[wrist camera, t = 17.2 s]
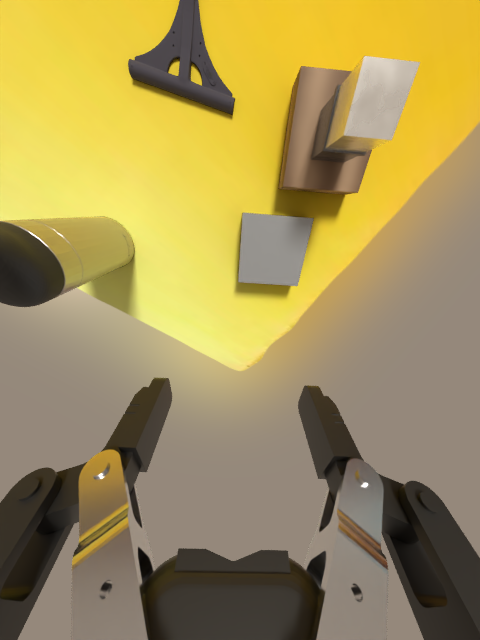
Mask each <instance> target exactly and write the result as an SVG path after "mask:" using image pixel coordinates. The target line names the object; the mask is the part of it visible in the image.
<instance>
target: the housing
mask: <svg viewBox="0 0 480 640" xmlns="http://www.w3.org/2000/svg"><path fill="white" fill-rule="evenodd" d="M419 64H420V62H412V61H403V60H395V59H386V58H377V57H369V56H364V57H363V58H362V59H361V61H360V62H359V63H358V65H357V66H356V67H355V68H354V70H353V71H352V72H351V73H350V75H349V76H348V77H347V78H346V80H345V81H344V82H343V83H342V85H337V86H336V88H335V92H334V95H333V96H332V97H331V98H330V100H329V101H328V102H327V103H326V105H325V106H324V107H323V108H322V110H321V112H320V117H319V122H318V126H317V131H316V136H315V141H314V146H313V151H312V156H311V160H322V161H333V162H343V163H344V162H346V161H348V160H350V159H353V158H355V157H357V156H365V155H366V152H367V151H370V150H372V149H374V148H376V147H378V146H380V145H382V144H385V143H387V142H389V141H391V140H392V138H393V135H394V132H395V130H396V127H397V124H398V121H399V119H400V116H401V113H402V110H403V108H404V105H405V102H406V99H407V97H408V94H409V91H410V88H411V86H412V83H413V80H414V77H415V75H416V72H417V69H418V67H419Z"/></svg>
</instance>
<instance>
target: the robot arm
mask: <svg viewBox="0 0 480 640" xmlns="http://www.w3.org/2000/svg"><path fill="white" fill-rule="evenodd" d="M133 255H134V244H133V241H132V239H131V237H130V235H129V233H128V232H127V230H126V229H125V228H124V227H123V226H122V225H121V224H119V223H118V222H117V221H115V220H113V219H111V218H107V217H77V218H54V219H31V220H11V221H0V302H1V303H4V304H7V305H11V306H18V307H30V306H36V305H39V304H42V303H45V302H47V301H49V300H51V299H53V298H55V297H58V296H59V295H62V294H64V293H66V292H68V291H70V290H73V289H75V288H77V287H79V286H81V285H83V284H85V283H87V282H90V281H92V280H94V279H96V278H98V277H100V276H102V275H105V274H107V273H109V272H111V271H113V270H115V269H117V268H120V267H122V266H124V265H126V264H128V263H129V262H130V261H131V259H132V258H133ZM171 401H172V392H171V387H170V382H169V379H168V378H154V379H153V380H152V382H151V384H150V386H149V387H143V388H142V389H141V390H140V391H139V392H138V393H137V394H135V396H134V398H133V400H132V401H131V403H130V406H129V407H128V408H127V410H126V412H125V414H124V415H123V417H122V419H121V420H120V422H119V424H118V426H117V427H116V429H115V431H114V432H113V434H112V436H111V438H110V440H109V441H108V443H107V445H106V446H105V448H104V449H103V450H102V451H101V452H100V453H98V454H96V455H95V456H94V457H92V458H91V459H90V460H89V461H88V462H86V463H84V464H82V465H79V466H76V467H72V468H69V469H66V470H63V471H59V472H55V471H54V470H53V469H51V468H42V469H38V470H35V471H34V472H31V473H30V474H28V475H26V476H25V477H24V478H22V479H21V480H20V481H19V482H18V483H17V484H16V485H15V486H14V487H13V488H12V489H11V490H10V491H9V493H8V494H7V495H6V496H5V498H4V499H3V500H2V501H1V503H0V640H17V639H18V637H19V635H20V633H21V631H22V629H23V627H24V625H25V623H26V621H27V619H28V617H29V615H30V612H31V610H32V609H33V607H34V604H35V602H36V600H37V598H38V596H39V594H40V592H41V590H42V588H43V586H44V584H45V582H46V580H47V578H48V576H49V574H50V572H51V570H52V568H53V566H54V564H55V562H56V560H57V558H58V555H59V553H60V551H61V549H62V547H63V545H64V543H65V541H66V539H67V537H68V535H69V533H70V531H71V529H72V527H73V525H74V523H77V522H79V545H78V547H77V549H76V550H75V552H74V555H73V561H72V617H71V640H386V639H387V603H388V565H387V560H386V557H385V556H384V554H383V553H382V550H381V533H382V535H383V538H384V540H385V543H386V545H387V548H388V550H389V553H390V555H391V558H392V560H393V563H394V565H395V568H396V570H397V573H398V575H399V578H400V580H401V583H402V585H403V588H404V590H405V593H406V595H407V598H408V600H409V603H410V605H411V608H412V610H413V613H414V615H415V618H416V620H417V623H418V625H419V628H420V631H421V633H422V635H423V638H424V640H480V558H479V557H478V555H477V553H476V552H475V551H474V549H473V547H472V546H471V544H470V543H469V541H468V540H467V538H466V537H465V535H464V533H463V532H462V531H461V529H460V527H459V526H458V524H457V523H456V521H455V520H454V518H453V517H452V515H451V514H450V512H449V511H448V509H447V507H446V506H445V504H444V503H443V502H442V500H441V499H440V498H439V497H438V496H437V495H436V494H435V493H434V492H433V491H432V490H430V488H428V487H427V486H425V485H424V484H422V483H419V482H417V481H409V482H407V483H406V484H405V485H404V484H401V483H399V482H396V481H394V480H391V479H389V478H386V477H384V476H381V475H380V474H378V473H377V472H376V471H375V470H374V469H373V468H372V467H371V466H370V465H369V464H368V463H366V462H365V461H364V460H363V459H362V457H361V455H360V453H359V451H358V450H357V447H356V445H355V443H354V441H353V439H352V437H351V435H350V433H349V431H348V429H347V427H346V425H345V424H344V421H343V419H342V417H341V416H340V413H339V410H338V408H337V407H336V405H335V403H334V402H333V401H332V400H331V399H330V398H329V397H328V396H323V394H322V391H321V390H320V388H319V387H318V386H304V388H303V391H302V394H301V396H300V399H299V404H298V409H299V414H300V417H301V420H302V424H303V427H304V431H305V434H306V438H307V441H308V444H309V448H310V451H311V455H312V458H313V461H314V465H315V469H316V472H317V476H318V479H326V480H327V483H328V488H327V492H326V495H325V499H324V503H323V506H322V510H321V514H320V518H319V522H318V526H317V529H316V532H315V535H314V537H313V539H312V542H311V544H310V547H309V549H308V553H307V556H306V560H305V564H304V567H302V566H301V565H299V564H298V563H296V562H295V561H293V560H292V559H290V558H288V551H278V550H261V551H258V552H256V553H253V554H251V555H249V556H246V557H244V558H241V559H239V560H237V561H230V560H228V559H226V558H224V557H222V556H220V555H217V554H215V553H213V552H211V551H209V550H206V549H178V555H176V556H174V557H172V558H170V559H169V560H167V561H165V562H164V563H163V564H162V565H160V566H159V567H158V568H157V569H156V570H155V566H154V561H153V556H152V552H151V547H150V543H149V540H148V537H147V534H146V531H145V527H144V523H143V518H142V513H141V509H140V505H139V499H138V495H137V490H136V485H135V481H136V479H137V476H138V474H139V472H147V469H148V467H149V464H150V461H151V458H152V455H153V453H154V450H155V447H156V445H157V442H158V439H159V436H160V433H161V431H162V428H163V425H164V422H165V420H166V417H167V414H168V411H169V408H170V406H171Z"/></svg>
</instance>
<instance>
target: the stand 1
mask: <svg viewBox="0 0 480 640" xmlns="http://www.w3.org/2000/svg"><path fill="white" fill-rule="evenodd" d="M313 219H314V218H305V217H292V216H279V215H266V214H254V213H243V215H242V230H241V246H240V261H239V277H238V282H244V283H259V284H275V285H290V286H298V282H299V278H300V273H301V269H302V265H303V261H304V257H305V253H306V248H307V244H308V240H309V236H310V232H311V228H312V223H313Z"/></svg>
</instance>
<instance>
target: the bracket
mask: <svg viewBox="0 0 480 640" xmlns="http://www.w3.org/2000/svg"><path fill="white" fill-rule="evenodd" d="M176 58H180V66H179V76H175V75H172V74H169V73H168V69H169V66H170V64H171V62H172V61H173V60H174V59H176ZM191 63H194V64H195V65H196V66H197V67H198V69H199V70H200V73H201V76H202V86H201V85H198V84H196V83H194V82H192V81H191ZM128 66H129V72H130V75H131V77H132V78H133V79H136V80H138V81H141V82H144V83H147V84H149V85H152V86H155V87H158V88H160V89H163V90H166V91H169V92H171V93H174V94H177V95H180V96H182V97H185V98H188V99H191V100H193V101H196V102H199V103H202V104H204V105H207V106H210V107H213V108H215V109H218V110H221V111H224V112H226V113H229V114H232V115H233V105H234V102H235V98H233V97H232V93H231V92H230V91H229V89H228V88H227V87H226V86H225V84H224V83H223V82H222V80H221V79H220V77H219V76H218V74H217V72H216V70H215V69H214V67H213V64H212V62H211V60H210V58H209V55H208V52H207V50H206V47H205V42H204V38H203V33H202V28H201V22H200V13H199V3H198V0H180V2H179V6H178V10H177V13H176V16H175V19H174V21H173V24H172V26H171V29H170V31H169V32H168V34H167V35H166V36H165V38H164V39H163V40H162V41H161V42H160V44H159V45H157V46H156V47H155V48H154V49H152V50H151V51H149V52H147V53H145V54H143V55H140V56H136V57H135V60H131V59H129V62H128Z"/></svg>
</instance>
